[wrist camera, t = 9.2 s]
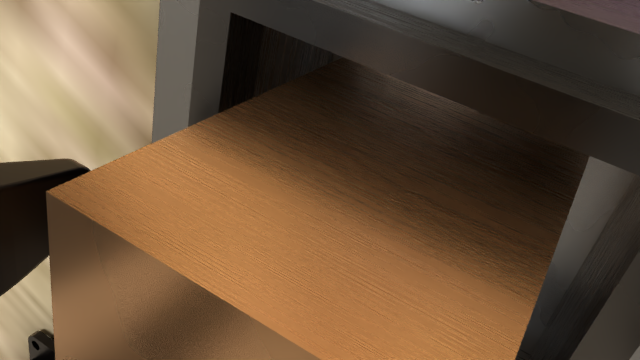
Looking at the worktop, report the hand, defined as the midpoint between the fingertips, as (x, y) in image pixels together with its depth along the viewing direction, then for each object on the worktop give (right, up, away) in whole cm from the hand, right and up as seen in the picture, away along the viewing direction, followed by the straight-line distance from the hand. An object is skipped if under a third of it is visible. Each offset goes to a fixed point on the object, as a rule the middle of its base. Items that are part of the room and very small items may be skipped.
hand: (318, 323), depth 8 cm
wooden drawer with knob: (+3, +2, +4) cm, 6 cm away
